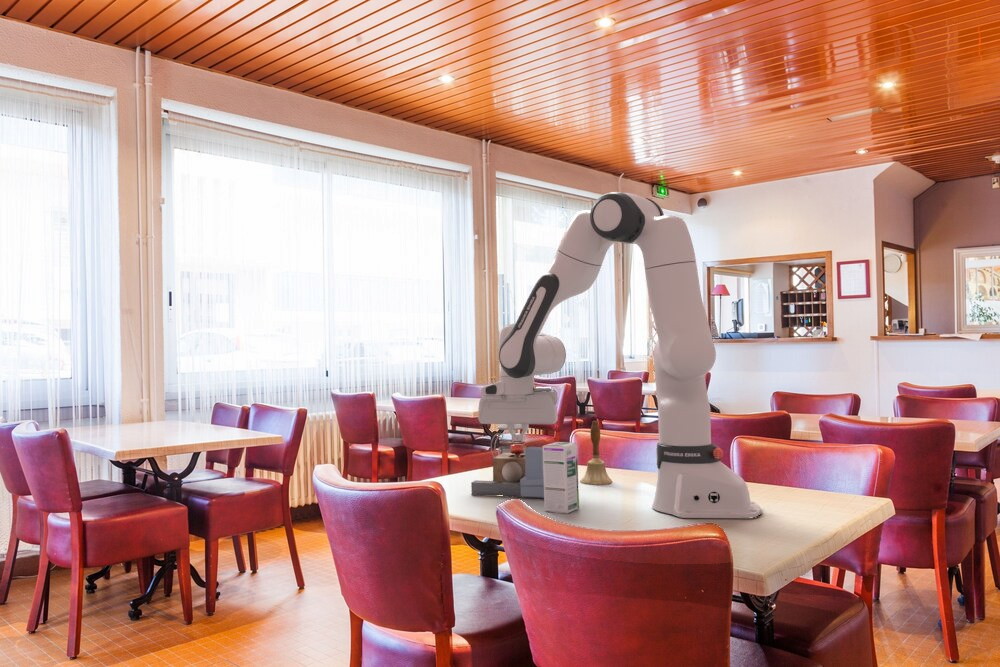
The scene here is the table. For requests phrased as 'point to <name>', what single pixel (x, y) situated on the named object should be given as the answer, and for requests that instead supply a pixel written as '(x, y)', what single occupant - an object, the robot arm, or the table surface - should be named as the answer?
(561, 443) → the syrup box
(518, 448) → the red capped bottle
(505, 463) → the brown wooden block
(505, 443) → the french press
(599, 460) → the hand bell
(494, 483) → the rail
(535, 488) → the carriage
